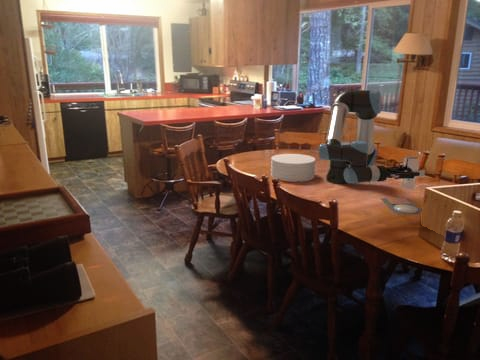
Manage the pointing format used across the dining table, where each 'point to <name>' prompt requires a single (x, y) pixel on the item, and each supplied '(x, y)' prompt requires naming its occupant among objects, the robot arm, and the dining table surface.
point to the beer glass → (410, 165)
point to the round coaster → (405, 208)
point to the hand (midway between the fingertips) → (419, 171)
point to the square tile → (397, 201)
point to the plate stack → (293, 167)
